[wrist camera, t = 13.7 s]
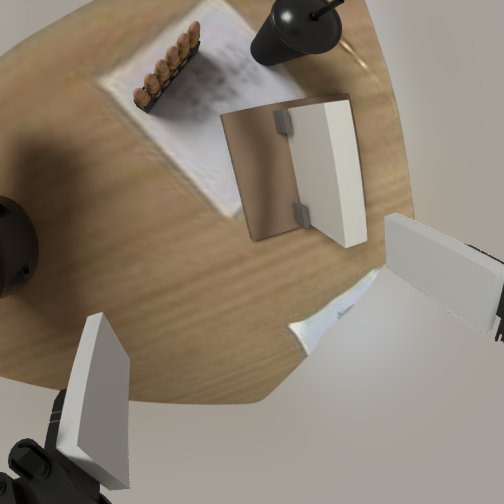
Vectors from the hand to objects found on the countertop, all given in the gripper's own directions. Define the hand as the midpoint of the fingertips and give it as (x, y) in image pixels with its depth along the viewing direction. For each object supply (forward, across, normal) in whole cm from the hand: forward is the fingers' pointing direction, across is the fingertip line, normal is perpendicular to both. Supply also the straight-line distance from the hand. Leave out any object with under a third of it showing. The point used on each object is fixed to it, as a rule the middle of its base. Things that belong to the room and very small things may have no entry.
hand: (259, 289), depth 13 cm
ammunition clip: (+31, 0, +15) cm, 34 cm away
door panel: (+29, +15, -1) cm, 32 cm away
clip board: (+30, +15, -1) cm, 34 cm away
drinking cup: (+30, +14, +16) cm, 37 cm away
